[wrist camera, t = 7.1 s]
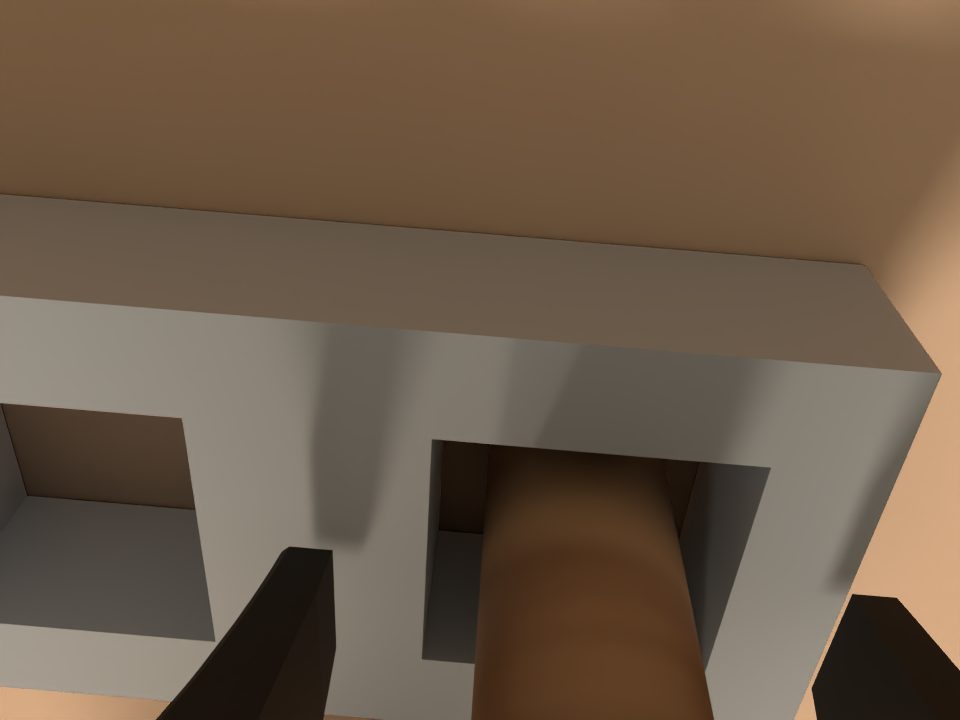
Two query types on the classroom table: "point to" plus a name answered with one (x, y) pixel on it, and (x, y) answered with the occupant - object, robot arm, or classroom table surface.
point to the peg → (583, 593)
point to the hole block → (429, 435)
